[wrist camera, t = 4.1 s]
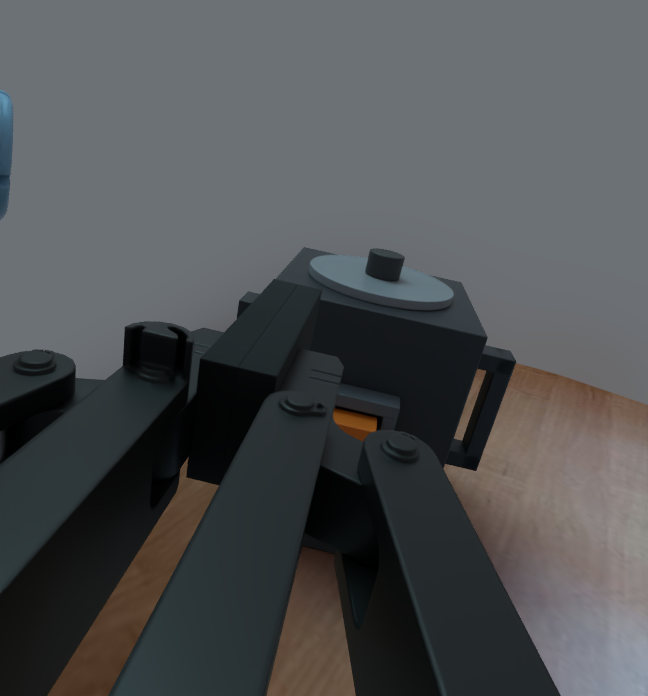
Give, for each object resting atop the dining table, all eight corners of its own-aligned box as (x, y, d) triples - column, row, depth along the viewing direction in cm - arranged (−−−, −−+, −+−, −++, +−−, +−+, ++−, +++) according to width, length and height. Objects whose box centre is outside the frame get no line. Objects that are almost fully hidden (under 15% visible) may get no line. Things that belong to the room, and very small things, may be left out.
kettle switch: (314, 463, 31) (324, 420, 30) (318, 447, 33) (328, 405, 31) (364, 476, 31) (376, 432, 30) (366, 459, 32) (377, 417, 31)
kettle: (182, 528, 36) (216, 244, 28) (242, 420, 50) (275, 211, 42) (466, 599, 35) (578, 325, 28) (446, 469, 49) (516, 264, 42)
